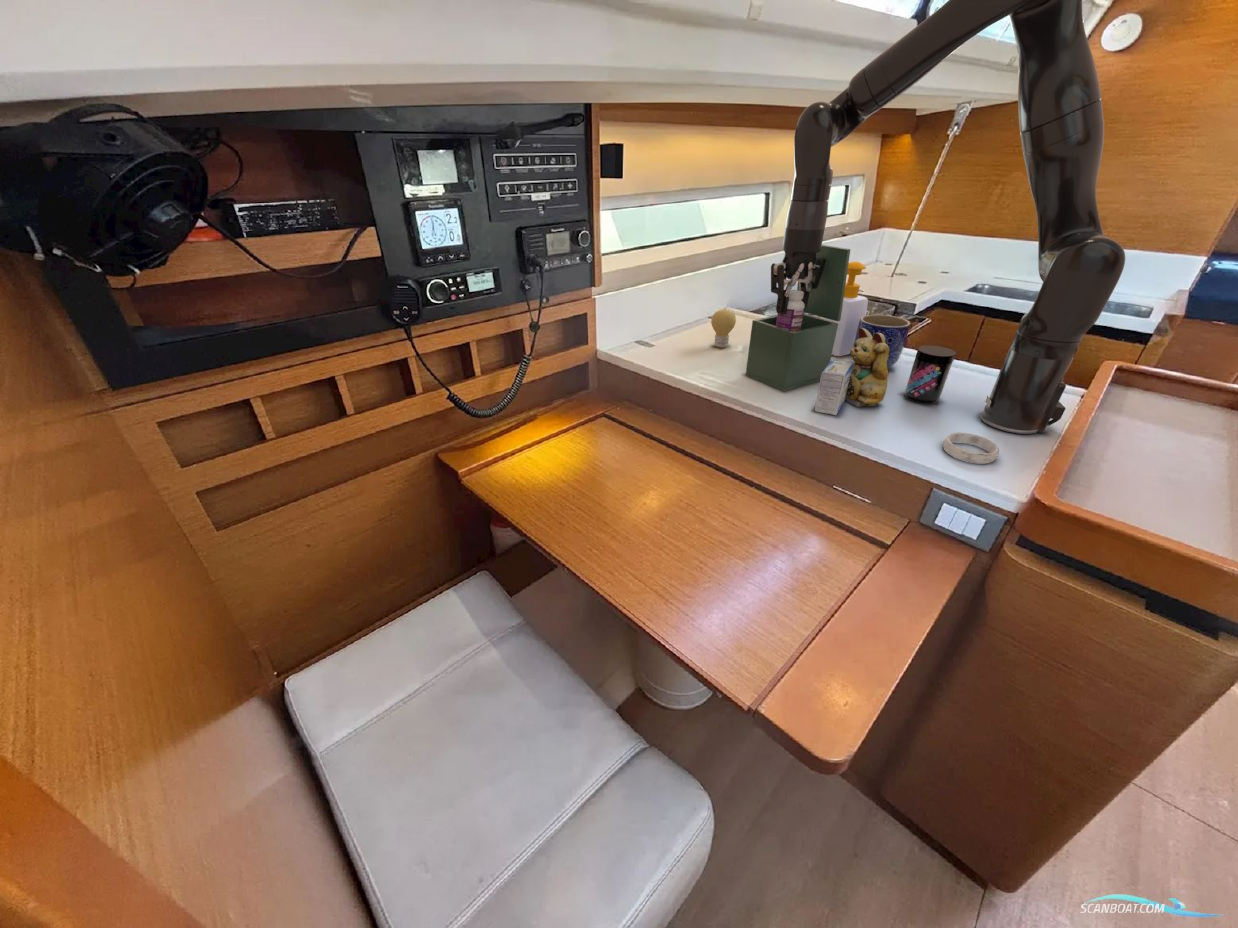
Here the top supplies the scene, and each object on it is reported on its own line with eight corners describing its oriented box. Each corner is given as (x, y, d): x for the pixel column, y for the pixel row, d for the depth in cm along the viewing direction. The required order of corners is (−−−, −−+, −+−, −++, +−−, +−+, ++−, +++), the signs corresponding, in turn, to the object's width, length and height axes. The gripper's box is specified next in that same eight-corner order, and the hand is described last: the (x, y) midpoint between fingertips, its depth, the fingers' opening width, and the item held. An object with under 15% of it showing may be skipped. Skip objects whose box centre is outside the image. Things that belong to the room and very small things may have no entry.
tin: (783, 391, 110) (793, 333, 103) (745, 374, 118) (752, 320, 112) (826, 379, 116) (838, 323, 109) (787, 363, 125) (796, 311, 118)
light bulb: (737, 346, 137) (741, 309, 132) (724, 351, 133) (728, 314, 128) (717, 341, 140) (721, 305, 135) (704, 346, 137) (707, 309, 131)
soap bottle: (820, 338, 142) (837, 255, 130) (862, 352, 131) (885, 262, 120) (796, 344, 137) (812, 258, 126) (838, 358, 127) (859, 266, 116)
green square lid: (847, 250, 100) (850, 249, 100) (801, 243, 109) (803, 242, 109) (837, 321, 109) (840, 320, 109) (795, 309, 117) (797, 308, 118)
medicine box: (836, 416, 99) (846, 375, 94) (813, 411, 101) (821, 371, 96) (844, 402, 105) (854, 362, 100) (822, 397, 107) (830, 359, 102)
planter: (907, 370, 120) (922, 324, 114) (871, 376, 117) (884, 329, 111) (873, 356, 129) (885, 312, 123) (839, 361, 125) (849, 317, 120)
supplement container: (898, 391, 109) (912, 345, 104) (930, 392, 109) (946, 345, 103) (911, 404, 103) (927, 356, 98) (945, 405, 103) (962, 356, 97)
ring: (971, 439, 90) (975, 429, 89) (1008, 462, 83) (1012, 452, 82) (931, 443, 89) (934, 433, 88) (964, 466, 82) (969, 456, 81)
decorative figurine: (830, 395, 108) (845, 326, 100) (859, 389, 110) (877, 321, 103) (863, 412, 100) (883, 339, 92) (894, 406, 103) (916, 334, 95)
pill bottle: (794, 341, 108) (801, 295, 103) (770, 337, 110) (777, 292, 105) (802, 335, 111) (810, 290, 106) (779, 331, 114) (786, 287, 109)
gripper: (794, 230, 93) (780, 320, 102) (844, 225, 100) (827, 310, 108) (765, 226, 99) (754, 312, 108) (814, 222, 105) (800, 303, 114)
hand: (791, 311), depth 108 cm, fingers closed on pill bottle, 5 cm apart
